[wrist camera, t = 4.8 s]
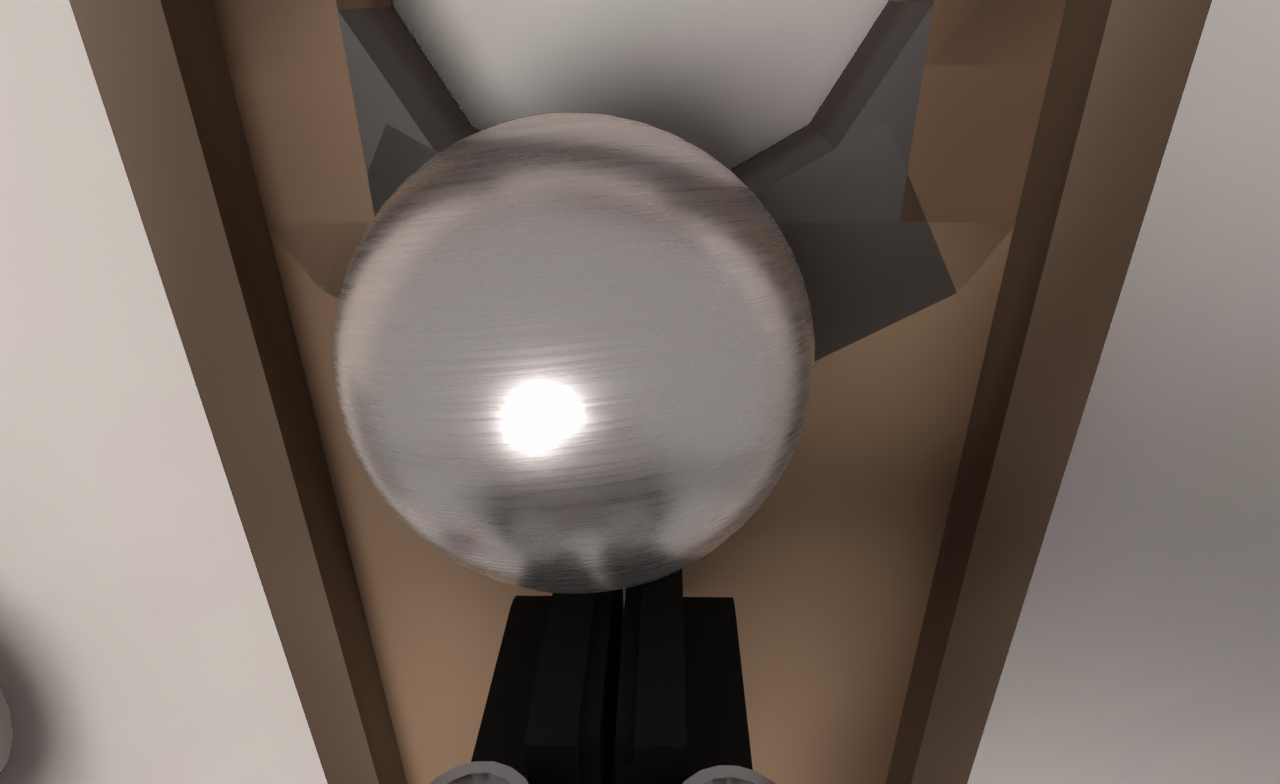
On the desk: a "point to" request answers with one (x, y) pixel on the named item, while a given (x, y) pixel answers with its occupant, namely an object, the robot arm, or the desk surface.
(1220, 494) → the desk surface
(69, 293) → the desk surface
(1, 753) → the flag stand
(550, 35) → the desk surface
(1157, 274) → the desk surface
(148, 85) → the walnut lane
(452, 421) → the steel ball
